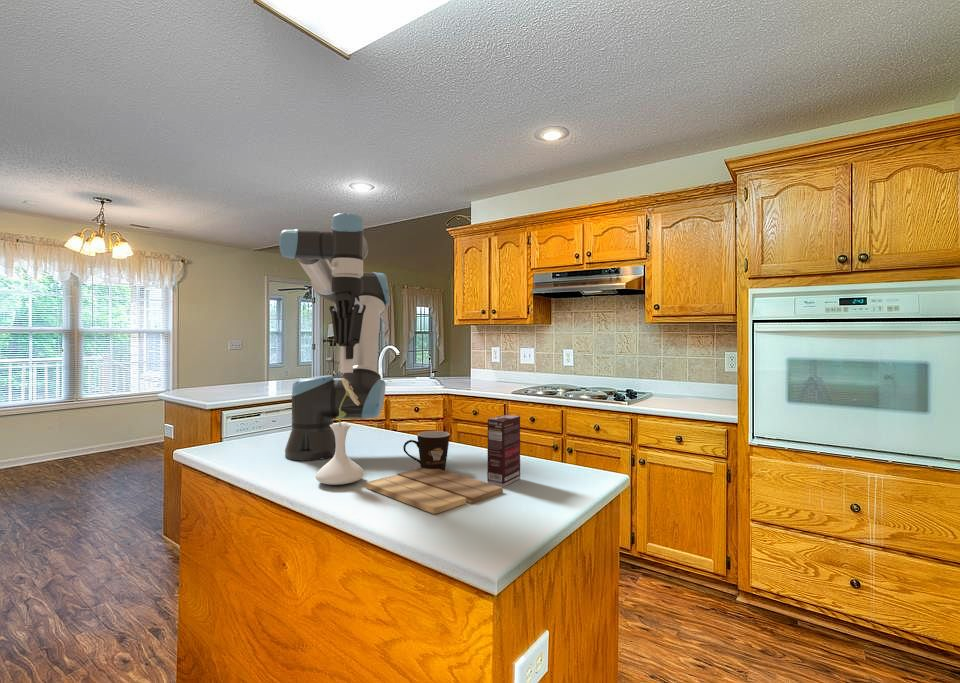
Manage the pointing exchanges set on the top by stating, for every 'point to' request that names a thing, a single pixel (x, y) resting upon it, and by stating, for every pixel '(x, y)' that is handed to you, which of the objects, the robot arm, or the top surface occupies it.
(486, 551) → the top surface
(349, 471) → the flower in vase
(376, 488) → the plank
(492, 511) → the top surface
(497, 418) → the supplement box
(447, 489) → the laid strip
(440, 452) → the coffee mug
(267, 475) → the top surface
